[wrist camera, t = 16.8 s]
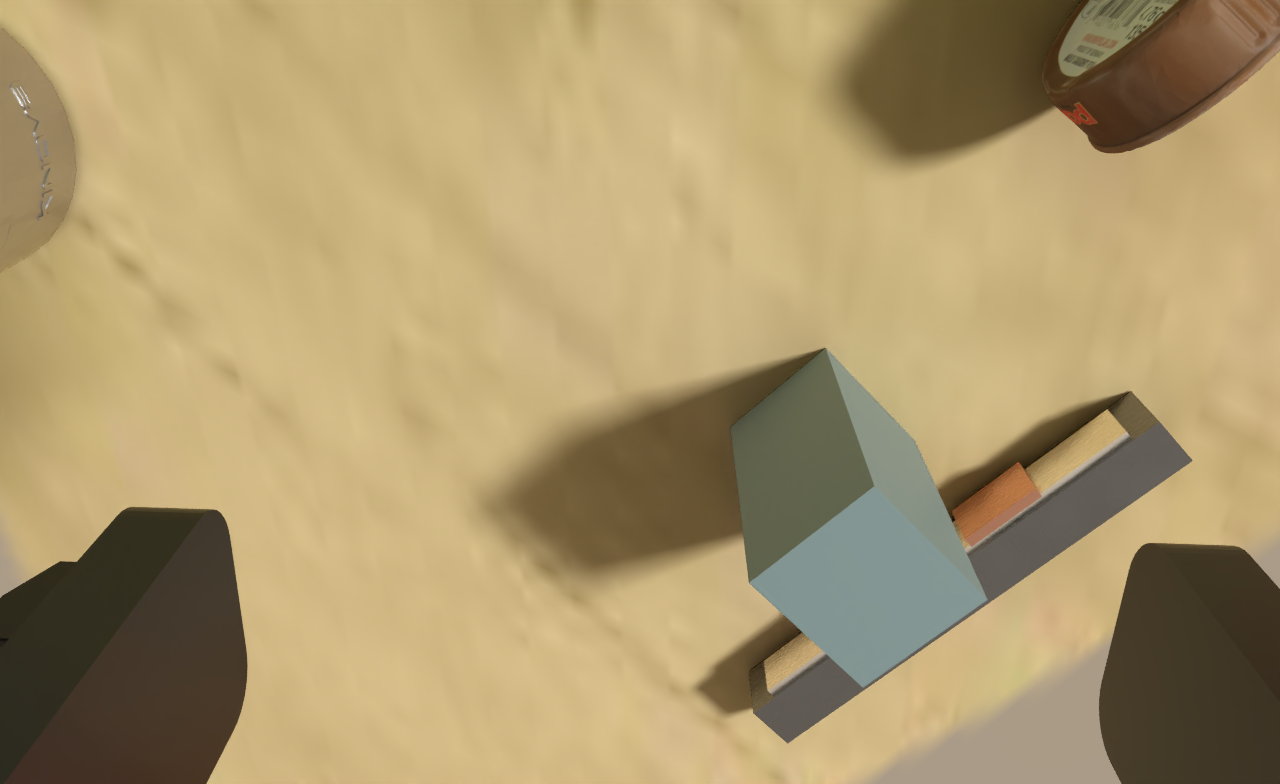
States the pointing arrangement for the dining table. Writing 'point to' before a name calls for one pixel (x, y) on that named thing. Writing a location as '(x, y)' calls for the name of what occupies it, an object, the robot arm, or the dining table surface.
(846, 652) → the carton
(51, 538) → the dining table surface
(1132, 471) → the price rail
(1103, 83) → the tin
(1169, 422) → the dining table surface
